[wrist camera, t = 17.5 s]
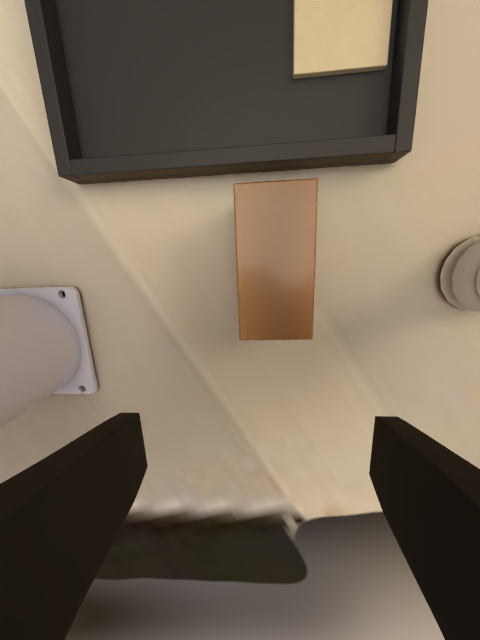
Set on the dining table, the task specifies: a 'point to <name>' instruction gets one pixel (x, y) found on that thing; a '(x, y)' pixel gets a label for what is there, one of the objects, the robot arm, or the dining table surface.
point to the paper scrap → (340, 36)
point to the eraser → (276, 258)
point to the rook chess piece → (463, 275)
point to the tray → (211, 90)
